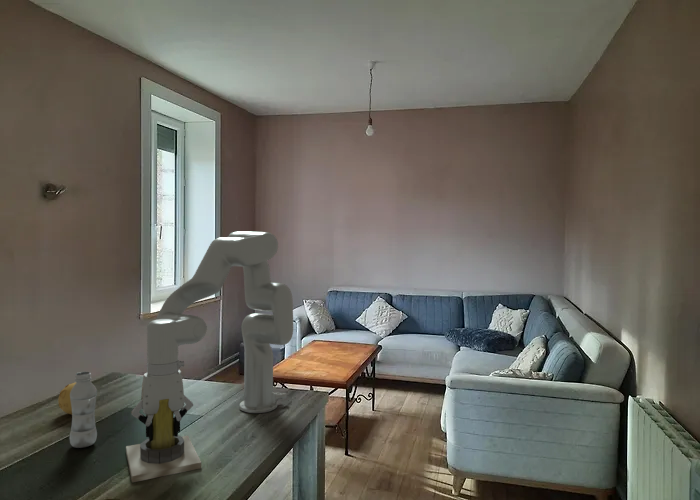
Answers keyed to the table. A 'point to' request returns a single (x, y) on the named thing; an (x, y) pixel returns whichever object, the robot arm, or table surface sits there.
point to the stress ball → (66, 399)
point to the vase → (163, 427)
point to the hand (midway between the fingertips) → (163, 436)
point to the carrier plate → (161, 459)
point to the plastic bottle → (83, 411)
